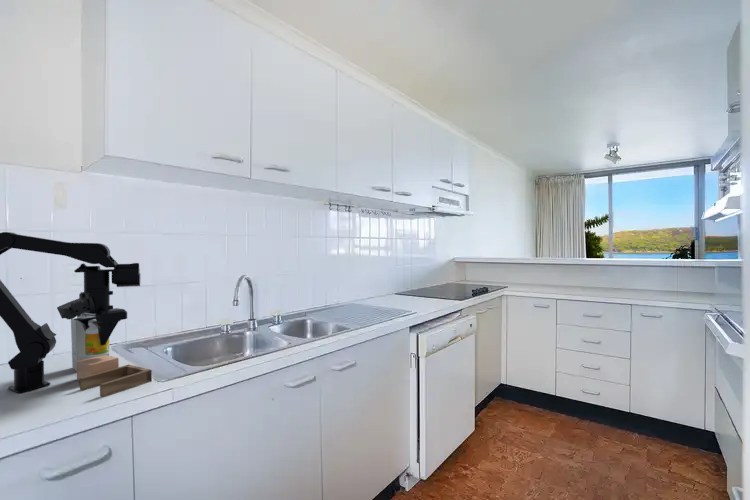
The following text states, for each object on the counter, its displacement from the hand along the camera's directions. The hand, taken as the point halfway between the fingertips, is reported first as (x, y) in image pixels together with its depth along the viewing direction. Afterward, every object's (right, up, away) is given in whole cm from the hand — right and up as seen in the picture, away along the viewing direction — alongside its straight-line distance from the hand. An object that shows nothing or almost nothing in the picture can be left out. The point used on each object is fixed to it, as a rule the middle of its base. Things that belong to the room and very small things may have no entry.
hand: (97, 343), depth 103 cm
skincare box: (-9, -10, +9) cm, 16 cm away
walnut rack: (+10, -10, -6) cm, 15 cm away
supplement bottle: (0, -3, 0) cm, 3 cm away
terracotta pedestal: (0, -9, 0) cm, 9 cm away
